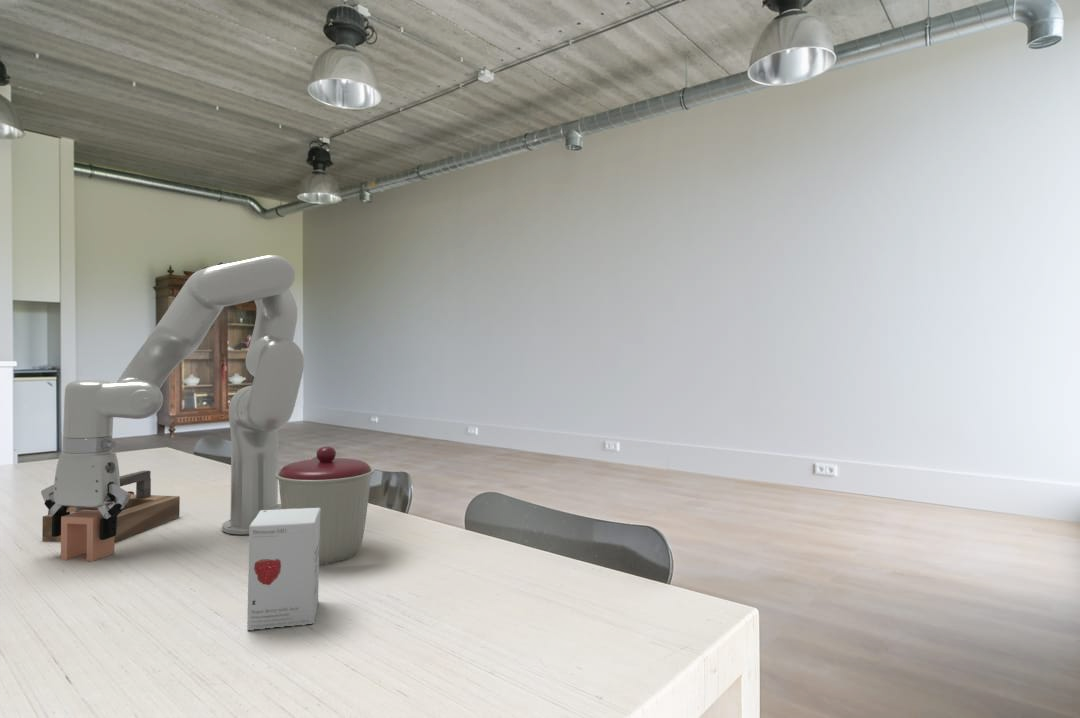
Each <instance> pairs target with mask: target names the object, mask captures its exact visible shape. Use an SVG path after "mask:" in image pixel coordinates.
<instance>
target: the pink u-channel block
mask: <svg viewBox="0 0 1080 718" xmlns="http://www.w3.org/2000/svg"><path fill="white" fill-rule="evenodd" d="M102 518H104V517H103V515H102V514H101V512H100V511H97V510H82V511H79V512H76V513H72V514H69V515H66V516H62V517H61V542H60V560H62V561H67V560H71V559H73V558H76V557H77V556H81V555H83V554H86V561H87V562H95V561H97V560H100V559H101V558H102V559H103V557H107V556H109V555H111V554H114V553H115V543H114V537H111V538H108V539H105V540H100V538H99V537H100V520H101V519H102Z"/></svg>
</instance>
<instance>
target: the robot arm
mask: <svg viewBox="0 0 1080 718" xmlns="http://www.w3.org/2000/svg"><path fill="white" fill-rule="evenodd" d="M295 278H296V273H295V269H294V267H293V265H292V264H291V262H290V261H289V260H287V258H285V257H283V256H282V255H277V254H267V255H262V256H258V257H253V258H248V259H243V260H240V261H239V260H238V261H235V262H234V261H233V262H229V263H221V264H217V265H210V266H208V267H204V268H203V269H199V270H197V271H195V272H194V273H193V274H191V275H190V276H189V277H188V279H187V280H186V281H185V283H184V284H183V286H182V287H181V289H180V290H179V292H178V293H177V295H176V296H175V298H174V299H173V301H172V302H171V304H170V305H169V307H168V309H167V310H166V311H165V313H164V315H163V316H162V317H161V319H160V320H159V322H158V323H157V325H156V326H155V327H154V329H153V330H152V331H151V333H150V334H149V335H148V337H147V339H146V340H145V341H144V343H143V344H142V346H141V347H140V348H139V349H138V351H137V352H136V353H135V355H134V356H133V357H132V359H131V360H130V362H129V363H128V364H127V366H126V368H125V369H124V371H123V372H122V373H121V375H120V376H119V378H118V380H117V381H116V382H109V381H106V380H105V381H104V380H73V381H70V382H68V383H67V384H66V386H65V388H64V399H63V400H64V402H63V405H64V406H63V425H62V426H63V427H62V432H63V433H62V445H61V446H62V452H61V453H60V454H59V457H58V459H57V460H58V461H57V464H56V469H55V475H54V482H53V484H52V485H50V486H47V487H46V488H44V489H42V490H41V492H40V494H41V496H42V497H41V498H42V499H43V501H44V503H43V504H44V505H45V507H46V508H47V510H49V514H50V515H53V516H52V537H57V536H60V535H61V517H62V516H66V515H69V514H70V512H66V511H67V510H68V509H69V508H70V507H86V508H98V510H99V511H100V512H101V514H102V515H103V517H104V518H102V519H101V520H100V537H99V538H100V540H105V539H108V538H111V537H114V536H115V535H116V528H117V515H120V514H121V511H122V510H123V509H124V508H125V507H126V504H127V502H128V501H129V499H130V497H131V495H130V493H128V491H126V490H125V489H123V488H122V487H120V476H121V475H120V469H119V468H120V467H119V461H118V457H117V456H118V455H117V454H116V453H117V452H115V451H114V452H113V449H114V448H116V446H117V442H116V441H115V440H113V433H114V431H113V429H114V418H119V419H120V418H121V419H123V418H124V419H132V420H142V419H147V418H150V417H152V416H154V415H156V414H157V413H158V412H159V411H160V410H161V408H162V406H163V403H164V395H163V393H162V391H161V388H162V386H163V385H164V383H165V382H166V380H167V379H168V378H169V376H170V374H171V373H173V371H174V370H175V368H176V367H177V366H178V365H179V364H180V363H182V362H184V360H185V359H187V358H188V357H189V356H191V355H192V354H193V353H194V352H195V351H197V349H198V348H199V347H200V346H201V344H202V342H203V340H204V339H205V337H206V336H207V334H208V333H209V331H210V329H211V327H212V326H213V325H214V323H215V321H216V319H217V318H218V317H219V315H220V314H221V313H222V311H223V309H224V307H225V308H226V307H231V306H234V305H240V304H244V303H248V302H252V301H254V304H255V306H256V316H255V317H256V318H255V323H254V327H253V331H252V334H251V338H250V342H249V346H248V350H247V352H246V356H245V366H246V369H247V371H248V373H249V374H250V375H251V376H252V377H253V380H252V384H251V385H247V386H245V387H242V388H240V389H239V390H238V391H236V392H235V393H234V395H233V396H232V398H231V399H230V402H229V406H228V420H229V421H228V422H229V429H230V441H231V442H230V443H231V444H230V446H231V447H230V448H231V449H230V452H231V453H230V454H231V456H230V458H231V459H230V519H229V520H226V521H225V522H224V523H222V526H221V527H222V532H224V533H226V534H231V535H249V526H250V525H251V523H252V522H253V520H254V519H255V518H256V516H257V515H258V513H259V512H260V511H261V510H279V509H282V508H281V503H279V500H278V497H279V494H278V493H279V492H278V491H279V489H278V488H279V480H278V479H277V478H276V477H275V473H276V472H277V471H279V436H278V435H279V434H278V431H279V430H280V429H282V428H284V427H285V426H286V425H287V424H288V422H289V421H290V419H291V417H292V415H293V413H294V410H295V406H296V402H297V398H298V395H299V391H300V386H301V384H302V383H301V381H302V378H303V372H304V367H305V359H304V354H303V351H302V349H301V348H300V346H299V345H298V344H297V343H295V342H294V338H295V332H296V328H297V322H298V307H297V303H296V300H295V298H294V297H295V296H294V295H293V293H292V291H291V290H290V289H291V288H292V287H293V284H294V282H295V280H296V279H295ZM116 502H117V503H116ZM106 506H108V507H109V509H110V510H109V509H108V508H107V507H106Z"/></svg>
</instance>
